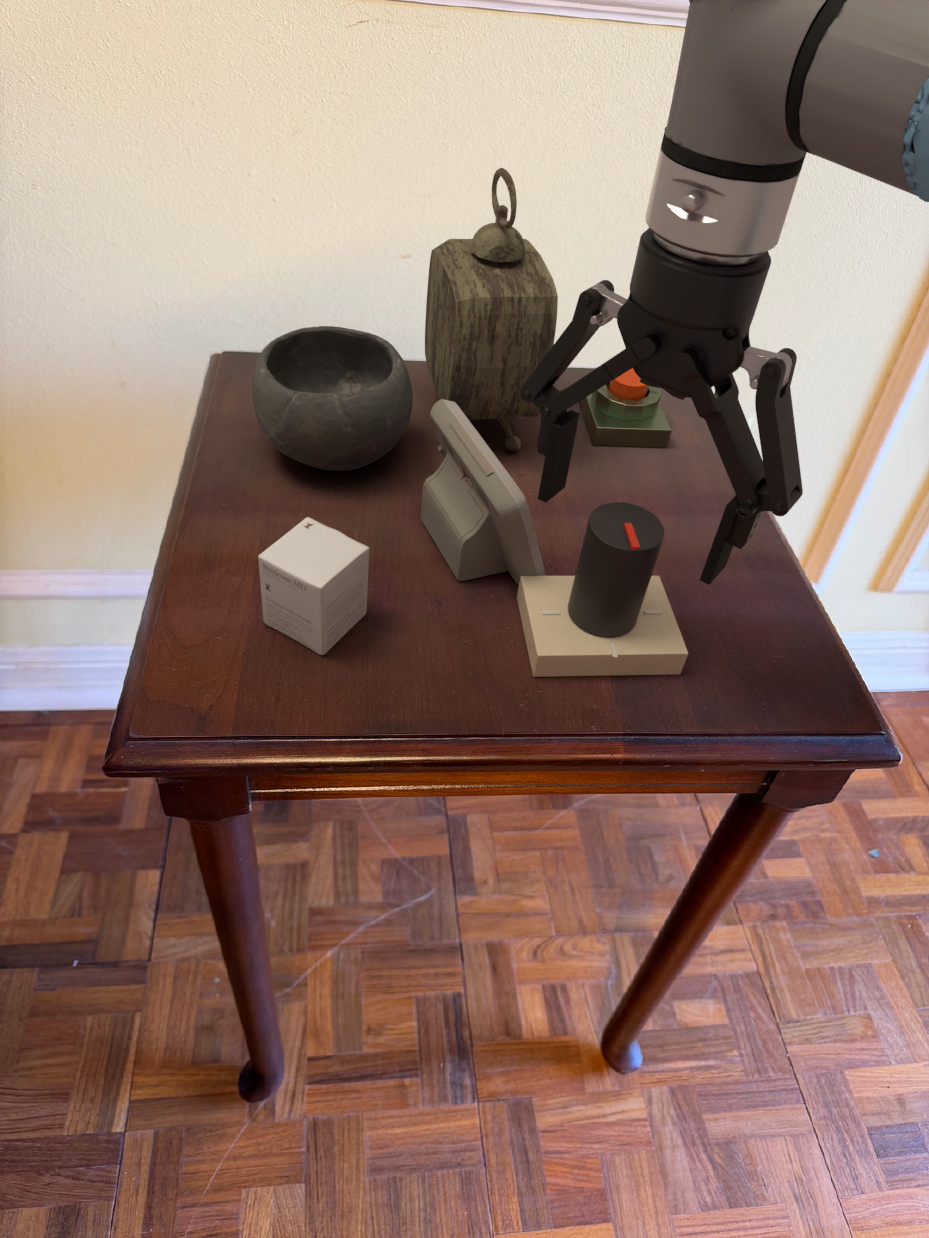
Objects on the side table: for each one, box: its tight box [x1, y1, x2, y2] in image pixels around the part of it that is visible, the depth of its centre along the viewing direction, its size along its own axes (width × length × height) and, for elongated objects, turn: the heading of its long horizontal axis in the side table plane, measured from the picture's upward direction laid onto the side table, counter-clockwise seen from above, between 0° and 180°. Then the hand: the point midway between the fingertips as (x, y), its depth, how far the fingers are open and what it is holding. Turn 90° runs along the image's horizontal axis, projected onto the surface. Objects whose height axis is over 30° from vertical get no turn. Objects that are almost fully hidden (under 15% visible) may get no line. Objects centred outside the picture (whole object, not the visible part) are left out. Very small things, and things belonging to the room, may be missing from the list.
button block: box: [578, 376, 673, 448], centre depth 96 cm, size 10×8×4 cm
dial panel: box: [516, 575, 689, 678], centre depth 73 cm, size 12×10×3 cm
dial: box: [568, 501, 666, 638], centre depth 68 cm, size 6×6×9 cm
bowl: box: [251, 325, 414, 472], centre depth 85 cm, size 15×15×10 cm
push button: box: [609, 368, 648, 400], centre depth 94 cm, size 4×4×2 cm
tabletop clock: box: [424, 167, 559, 453], centre depth 85 cm, size 14×9×25 cm, turn 13°
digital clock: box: [419, 399, 546, 587], centre depth 77 cm, size 16×9×11 cm, turn 12°
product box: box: [257, 516, 371, 656], centre depth 69 cm, size 6×6×7 cm
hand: (628, 532), depth 66 cm, fingers open, 13 cm apart
